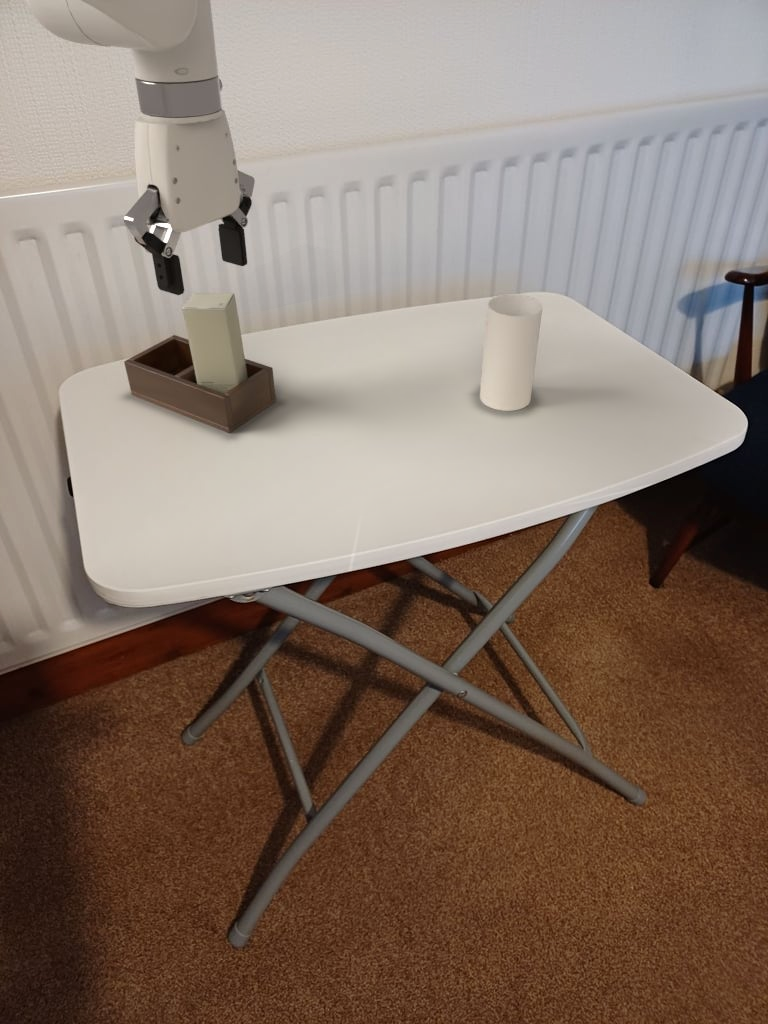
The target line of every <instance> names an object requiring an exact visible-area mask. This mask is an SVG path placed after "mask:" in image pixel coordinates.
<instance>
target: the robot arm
mask: <svg viewBox="0 0 768 1024" xmlns="http://www.w3.org/2000/svg"><path fill="white" fill-rule="evenodd" d="M24 1H25V4H26V5H27V7H28V9H29V11H30V13H31V14H32V15H33V17H34V18H35V19H36V21H37V22H38V23H39V24H40V25H41V26H42V27H43V28H45V29H46V30H47V31H48V32H50V33H51V34H52V35H54V36H56V37H59V38H61V39H62V40H65V41H68V42H71V43H76V44H80V45H81V44H82V45H90V46H99V47H107V48H108V47H109V48H110V47H114V48H122V49H130V54H131V61H132V67H133V73H134V79H135V85H136V91H137V92H136V93H137V97H138V105H139V110H140V116H141V117H138V118H135V120H134V137H133V138H134V139H133V140H134V144H133V145H134V165H135V175H136V185H137V194H138V200H137V201H136V202H135V203H134V204H133V206H132V207H131V208H130V209H129V210H128V212H127V213H126V214H125V215H124V217H123V221H124V225H125V226H126V228H127V229H128V230H129V232H130V234H131V235H132V236H133V237H134V241H135V243H137V244H138V245H140V246H141V247H142V248H143V249H144V250H145V252H147V253H148V254H151V257H152V261H153V267H154V273H155V279H156V285H157V287H158V289H159V290H160V291H163V292H166V293H169V294H173V295H176V296H181V295H183V294H184V293H185V286H184V278H183V273H182V266H181V260H180V257H179V255H177V254H174V252H175V250H176V247H177V245H178V242H179V239H180V237H181V234H182V233H186V232H190V231H192V230H195V229H197V228H200V227H202V226H205V225H209V224H210V223H213V222H216V221H219V220H220V221H221V222H222V223H219V224H218V236H219V245H220V253H221V259H222V261H223V262H225V263H228V264H231V265H232V264H233V265H236V266H240V267H245V266H247V265H248V255H247V245H246V235H245V228H246V227H247V226H248V224H249V219H248V217H247V216H248V214H249V212H250V210H251V207H252V204H253V202H252V199H251V198H252V197H253V192H254V187H255V184H256V183H255V181H256V180H255V178H254V177H253V176H252V175H249V174H247V173H245V172H243V171H241V170H238V163H237V158H236V153H235V147H234V146H235V145H234V142H233V138H232V137H233V136H232V133H231V129H230V125H229V121H228V118H227V115H226V111H225V110H224V109H223V105H222V96H221V95H222V94H221V92H222V90H223V82H222V79H220V76H219V69H218V61H217V60H218V59H217V51H216V50H217V49H216V41H215V32H214V22H213V13H212V3H211V2H212V1H211V0H24ZM149 226H151V227H150V228H149ZM164 232H166V234H165V237H164V239H163V240H162V237H163V235H164Z"/></svg>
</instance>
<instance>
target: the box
mask: <svg viewBox="0 0 768 1024" xmlns="http://www.w3.org/2000/svg"><path fill="white" fill-rule="evenodd" d="M181 312H182V316H183V321H184V325H185V331H186V335H187V339H188V340H189V345H190V350H191V355H192V360H193V364H194V369H195V374H196V380H197V384H199V385H201V386H204V387H207V388H210V389H212V390H215V391H218V392H221V393H223V394H224V393H226V392H227V391H229V390H231V389H232V388H234V387H235V386H237V385H239V384H240V383H242V382H243V381H245V380H246V379H248V376H247V370H246V364H245V359H246V357H245V351H244V343H243V338H242V332H241V325H240V320H239V319H240V318H239V313H238V307H237V300H236V294H235V293H233V292H232V293H231V292H230V293H229V292H228V293H226V292H224V293H223V292H222V293H221V292H192V293H191V295H190V296H189V298H187V300H186V301H185V303H184V304H183V305H182V307H181Z"/></svg>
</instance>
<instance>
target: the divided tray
mask: <svg viewBox="0 0 768 1024" xmlns="http://www.w3.org/2000/svg"><path fill="white" fill-rule="evenodd" d="M123 363H124V368H125V371H126V376H127V381H128V384H129V389H130V393H131V395H132V396H134V397H137V398H139V399H141V400H144V401H147V402H148V403H150V404H153V405H157V406H159V407H161V408H165V409H167V410H170V411H171V412H175V413H178V414H179V415H182V416H185V417H187V418H190V419H192V420H195V421H197V422H199V423H202V424H205V425H207V426H210V427H213V428H215V429H218V430H221V431H223V432H226V433H228V434H231V433H232V432H234V431H235V430H236V429H238V428H239V427H241V426H243V425H244V424H245V423H247V422H248V421H250V420H251V419H252V418H254V417H255V416H257V415H258V414H260V413H262V412H263V411H264V410H266V409H267V408H269V407H270V406H271V405H273V404H274V403H276V402H277V401H276V400H277V399H276V388H275V378H274V371H273V370H274V369H273V367H272V366H269V365H265V364H262V363H260V362H256V361H254V360H250V359H248V358H245V364H246V370H247V376H248V379H246V380H245V381H243V382H242V383H240V384H239V385H237V386H235V387H234V388H232V389H231V390H229V391H227V392H226V393H224V394H223V393H221V392H218V391H215V390H212V389H210V388H207V387H204V386H201V385H199V384H197V380H196V374H195V369H194V364H193V360H192V355H191V350H190V345H189V340H188V338H185V337H182V336H179V335H176V334H173V335H171V336H169V337H168V338H165V339H163V340H161V341H159V342H158V343H156V344H154V345H152V346H151V347H148V348H146V349H145V350H142V351H140V352H139V353H137V354H135V355H133V356H132V357H129V358H128V359H126V360H124V361H123Z"/></svg>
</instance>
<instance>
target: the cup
mask: <svg viewBox="0 0 768 1024" xmlns="http://www.w3.org/2000/svg"><path fill="white" fill-rule="evenodd" d="M542 315H543V304H542V302H541V301H539V300H538V299H536V298H534V297H532V296H529V295H524V294H520V293H519V294H518V293H504V294H500V295H499V294H498V295H496V296H493V297H491V298H490V299H489V300H488V302H487V305H486V315H485V316H486V317H485V318H486V319H485V328H484V338H483V339H484V341H483V353H482V362H481V364H482V365H481V376H480V386H479V387H480V388H479V400H480V401H481V403H482V404H483V405H485V406H487V407H488V408H491V409H494V410H496V411H497V410H498V411H502V412H503V411H504V412H513V411H518V410H522V409H524V408H526V407H527V406H528V405H529V404H530V403H531V399H532V392H533V384H534V377H535V376H534V375H535V368H536V361H537V354H538V348H539V347H538V345H539V339H540V331H541V323H542Z"/></svg>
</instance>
